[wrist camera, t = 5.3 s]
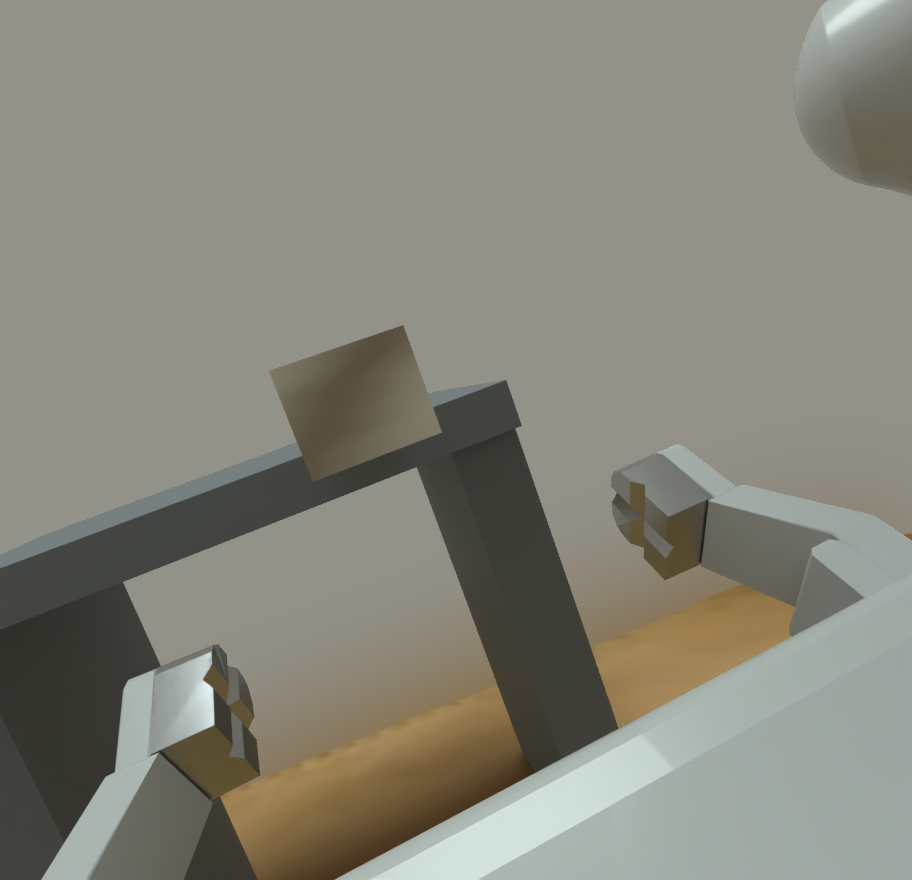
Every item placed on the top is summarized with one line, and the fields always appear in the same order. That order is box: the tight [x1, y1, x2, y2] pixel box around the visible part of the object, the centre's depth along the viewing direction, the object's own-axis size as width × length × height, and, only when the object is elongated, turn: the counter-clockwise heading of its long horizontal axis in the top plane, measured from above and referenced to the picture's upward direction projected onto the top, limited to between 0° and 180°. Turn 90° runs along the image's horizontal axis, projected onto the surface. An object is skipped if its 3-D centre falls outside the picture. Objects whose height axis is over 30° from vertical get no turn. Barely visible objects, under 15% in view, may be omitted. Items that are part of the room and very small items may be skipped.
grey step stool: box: [0, 380, 619, 880], centre depth 31 cm, size 25×16×26 cm, turn 103°
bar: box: [269, 326, 442, 482], centre depth 25 cm, size 3×26×2 cm, turn 13°
